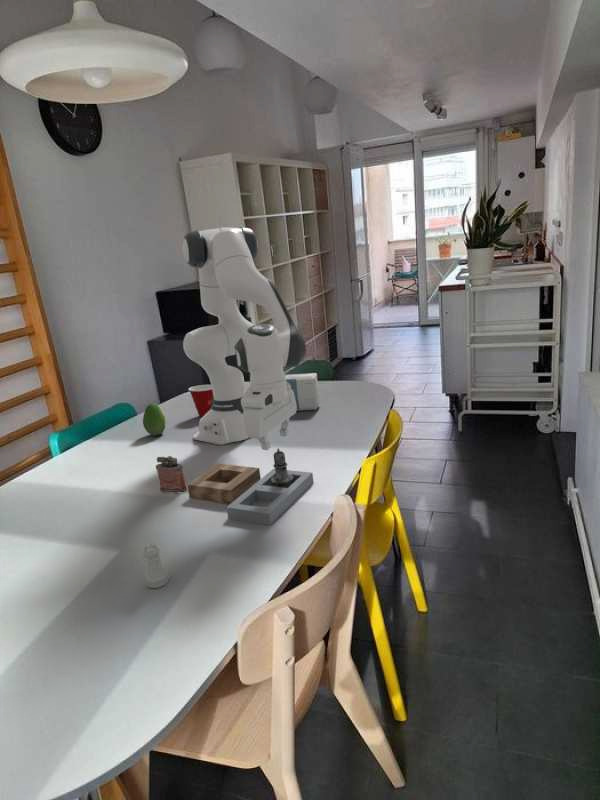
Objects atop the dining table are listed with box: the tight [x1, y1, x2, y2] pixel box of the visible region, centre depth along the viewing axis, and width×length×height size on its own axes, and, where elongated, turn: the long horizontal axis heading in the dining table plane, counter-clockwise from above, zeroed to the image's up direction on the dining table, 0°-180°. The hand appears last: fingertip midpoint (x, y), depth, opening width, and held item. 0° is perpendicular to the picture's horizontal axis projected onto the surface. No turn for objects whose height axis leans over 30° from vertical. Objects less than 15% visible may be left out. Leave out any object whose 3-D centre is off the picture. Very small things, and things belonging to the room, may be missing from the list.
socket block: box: [186, 463, 262, 505], centre depth 148 cm, size 14×14×4 cm
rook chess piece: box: [142, 543, 169, 589], centre depth 109 cm, size 4×4×8 cm
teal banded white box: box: [283, 356, 321, 412], centre depth 210 cm, size 21×8×20 cm, turn 77°
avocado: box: [142, 402, 166, 437], centre depth 200 cm, size 8×8×12 cm
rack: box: [225, 468, 314, 526], centre depth 139 cm, size 12×23×3 cm, turn 153°
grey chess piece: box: [271, 448, 293, 488], centre depth 142 cm, size 6×6×12 cm
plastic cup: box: [188, 384, 214, 419], centre depth 216 cm, size 11×11×12 cm
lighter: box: [155, 455, 188, 494], centre depth 151 cm, size 8×3×10 cm, turn 71°
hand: (275, 441), depth 140 cm, fingers open, 8 cm apart
